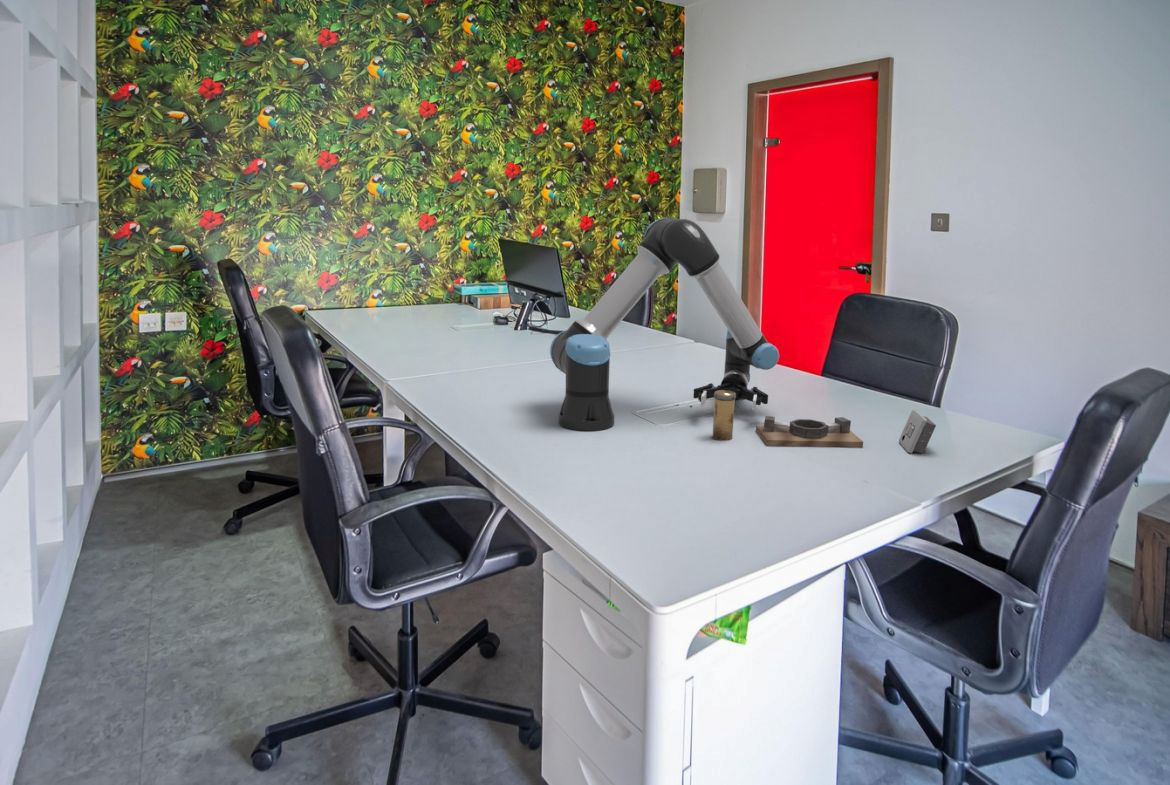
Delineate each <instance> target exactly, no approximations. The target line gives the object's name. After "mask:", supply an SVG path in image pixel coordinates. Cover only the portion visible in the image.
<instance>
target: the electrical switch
mask: <svg viewBox="0 0 1170 785" xmlns="http://www.w3.org/2000/svg"><path fill="white" fill-rule="evenodd" d="M936 427H937V425H936V424H935V423H934V422H933V421H932V420H931V419H930V418H929V417H928V416H924V415H923V414H921V413H920V412H919V411H918V410H916V409H912V410H911V412H910V414H909V416H908V419H907V421H906V423H905V425H904V428H903V429H902V432H901V434H900V437H899V439H898V443H899V445H900V446H901V447H902V448H903V449H904V450H905V451H906V452H907V453H909V454H913V452H915V453H920V454H924V452H925V451H926V449H927V447H928V444H929V442H930V440H931V438H932V435H933V434H934V431H935V430H936V429H935V428H936Z"/></svg>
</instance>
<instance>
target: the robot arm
mask: <svg viewBox="0 0 1170 785" xmlns="http://www.w3.org/2000/svg"><path fill="white" fill-rule="evenodd" d="M636 248H637V255H636V256H635V257H634V259H632V261H631V262H630V263H629V264H628V266H627V267H626V268H625V270H623V271H622V273H621V274H620V275H619V276H618V278H617V279H616V280H615V281H614V282H613V283H612V285H611V286H610V287H609V288H608V289H607V291H606V292H605V293H604V294H603V295H602V296H601V298H600V299H599V300H598V301H597V303H596V304H595V305H594V306H593V307H592V308H591V309H590V311H589V312H588V313H587V314H586V315H585V317H584V318H583V319H577V320H574V321H573V323H572V324H571V325H570V326H569V327H568V329H566V330H564V331H561V332H559V333H558V334H557V335H556V336H554V338H553V339H552V341H551V344H550V348H549V354H550V358H551V360H552V362H553V364H554V365H555V367H556V369H558V370H559V371H560V372H562V373H563V374H565V396H564V398H563V402H562V404H561V407H560V410H559V413H558V424H559V425H560V426H561V427H562V428H563V427H564V428H565V429H569V430H574V431H588V432H589V431H600V430H601V431H602V430H606V429H610V428H612V427H613V426H614V425H615V413H614V410H613V407H612V403H611V399H610V392H609V390H610V364H611V363H610V360H611V359H610V358H611V349H610V343H609V341H608V340H607V339H608V338H609V336H610V335H611V334H612V333H613V332H614V330H615V329H616V328H618V326H619V325H620V323H621V322H622V321H623V320H624V318H625V317H626V316H627V315H628V313H629V312H630V311H631V310H632V309H633V308H634V307H635V305H636V304H637V303H638V302H639V301H640V300H641V299H642V297H643V296H644V295H645V294H646V292H648V290H649V289H650V287H652V286H653V285H654V283H655V282H656V281H657V280H658V278H659V277H660V276H661V275H667V274H668V275H669V273H670V272H671V271H672V270H673V269H674V268H675V267H676V265H677V264H678V265H680V266H681V267H683V269H684V270H685V271H686V273H687V274H688V276H689V277H691V278H695V280H696V282H697V283H698V285H699V287H700V288H701V290H702V291H703V292H704V294H705V296H706V298H707V299H708V300H709V302H710V303H711V305H712V306H713V308H714V310H715V311H716V313H717V315H718V316H719V318H720V319H721V320H722V322H723V325H725V326H724V327H726V329H727V331H726V332H727V333H726V338H725V357H724V358H725V359H724V370H723V371H724V372H723V377H722V380H721V383H720V384H719V385H717V386H715V385H714V383H712V382H711V383H708V384H707V385H704V386H700V387H697V388H694V389H693V398H692V399H698V401H699V402H700V406H701V407H704V406H705V404H706V402H707V400H708V399H713V398H714V392H715V391H718V390H729V391H733V392H735V393H736V399H735V402H736V401H739V400H741V401H742V400H747V401H749V402H752V406H751V407H752V409H751V410H752V411H756V408H757V406H761V404H763V405H768V404H769V403H768V402H769V394H767V393H766V392H764V391H762V390H761V389H758V387H757V386H753V387H751V388H750V389H749V388H748V385H749V383H750V381H751V373H750V371H751V366H753V367H754V368H755V369H760V370H764V371H767V370H768V371H769V370H771V369H773V368H774V367H775V366H776V365H777V363H778V362H779V359H780V353H779V349H778V348H777V347H776V346H775V345H773V344H772V343H770V342H768V340H767V339H766V338H765V335H764V334H763V332H762V331H761V329H760V328H759V326H758V325H757V323H756V321H755V319H754V318H753V316H752V314H751V313H750V311H749V309H748V308H747V306H746V305H745V303H744V301H743V300H742V298H741V296H740V295H739V293H738V292H737V290H736V287H734V285H733V283H732V282H731V280H730V278H729V277H728V274H727V273H726V272H725V270H724V269H723V267H722V265H721V263H720V259H721V256H720V255H719V253H718V251H717V249H716V248H715V246H714V244H713V243H712V241H711V240H710V237H708V235H707V234H706V232H705V231H704V229H702V228H701V226H700V225H698V224H697V223H696V222H695V221H693V220H690V219H687V218H685V219H684V218H674V217H662V218H660V219H656V220H654V221H653V222H652V223H650V224H649V225H648V226H647V228H646V230H645V231H644V235H643V239H642V241H641V242H640V243H639V245H637V247H636ZM714 399H715V398H714Z"/></svg>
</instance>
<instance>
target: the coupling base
mask: <svg viewBox="0 0 1170 785" xmlns="http://www.w3.org/2000/svg"><path fill="white" fill-rule="evenodd" d="M764 417H765V418H764V421H763V425H759V424H758V425H755V432H756V433H757V435H758V436H759V437H760V438H761V440H762V442H763V443H764V444H765V446H766V447H801V448H802V447H803V448H804V447H805V448H807V447H809V448H811V447H815V448H816V447H817V448H861V449H862V448H863V447H864V440H862V439H861V438H860V437H858V436H857V435H856V434H855V433H854V431H852V430H851V422H852V420H850V419H847V418H845V417H843V416H841V417H834V422H833V423H831V422H829V423H825V422H824V421H820V420H816V419H809V418H808V419H807V418H806V419H803V418H797V419H794V420H792V421H790V422H789V423H788V422H779V421H778V422H777V421H776V420H775V418H776V417H775V416H774V415H773V416H771V415H765V416H764ZM788 424H789V425H788Z"/></svg>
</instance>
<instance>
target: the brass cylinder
mask: <svg viewBox="0 0 1170 785" xmlns="http://www.w3.org/2000/svg"><path fill="white" fill-rule="evenodd" d="M735 399H736V393H735V392H733V391H729V390H718V391H715V392H714V404H713V406H714V408H713V424H712V438H713V440H718V441H730V440H732V439H733V432H734V419H735V418H734V414H735V402H736V401H735Z"/></svg>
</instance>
